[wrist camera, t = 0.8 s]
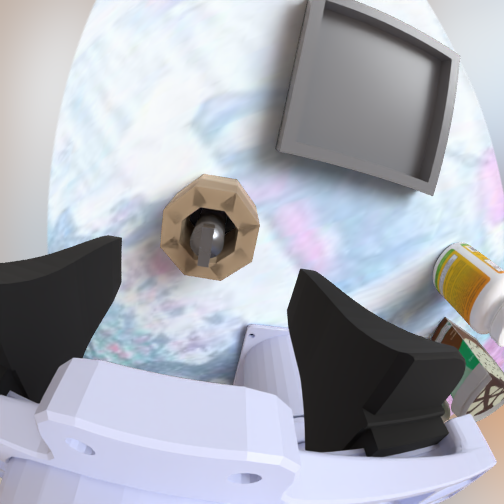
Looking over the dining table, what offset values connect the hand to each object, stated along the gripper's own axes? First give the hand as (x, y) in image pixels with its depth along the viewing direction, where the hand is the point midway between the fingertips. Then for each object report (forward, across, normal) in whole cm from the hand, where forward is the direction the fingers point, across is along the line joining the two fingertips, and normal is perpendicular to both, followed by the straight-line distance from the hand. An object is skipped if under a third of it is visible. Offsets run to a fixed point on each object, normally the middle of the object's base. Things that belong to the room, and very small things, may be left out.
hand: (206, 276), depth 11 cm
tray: (+9, -8, -11) cm, 17 cm away
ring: (+9, 0, 0) cm, 9 cm away
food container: (+10, -28, +11) cm, 31 cm away
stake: (+9, 0, 0) cm, 9 cm away
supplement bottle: (+10, -22, +1) cm, 24 cm away
